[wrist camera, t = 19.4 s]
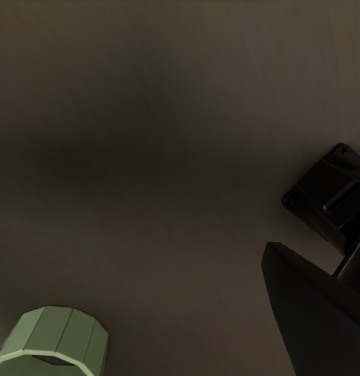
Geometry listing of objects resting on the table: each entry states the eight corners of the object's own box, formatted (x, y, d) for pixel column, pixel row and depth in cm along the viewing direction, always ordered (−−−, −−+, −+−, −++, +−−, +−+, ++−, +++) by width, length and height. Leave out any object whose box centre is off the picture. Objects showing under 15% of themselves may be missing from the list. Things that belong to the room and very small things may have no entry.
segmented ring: (125, 332, 28) (118, 377, 23) (79, 378, 30) (65, 426, 26) (40, 291, 25) (14, 334, 21) (-2, 346, 28) (-32, 394, 24)
